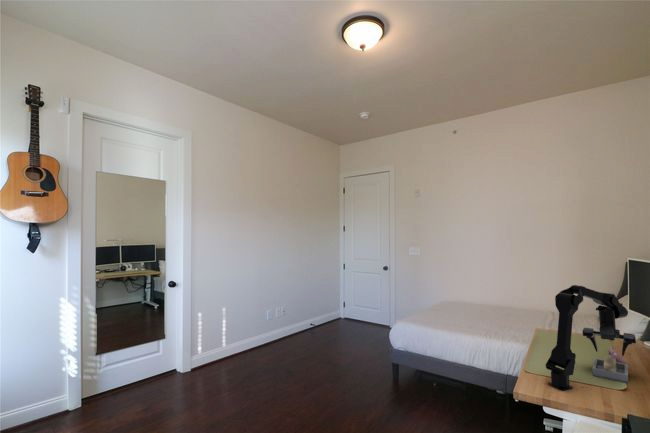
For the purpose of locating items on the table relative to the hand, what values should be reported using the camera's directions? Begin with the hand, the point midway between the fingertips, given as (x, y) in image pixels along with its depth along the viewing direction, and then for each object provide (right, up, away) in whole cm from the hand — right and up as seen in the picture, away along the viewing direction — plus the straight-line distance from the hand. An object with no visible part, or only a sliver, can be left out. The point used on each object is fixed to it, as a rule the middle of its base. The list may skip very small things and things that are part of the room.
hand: (609, 353), depth 155 cm
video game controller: (+14, -10, +12) cm, 21 cm away
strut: (0, -8, -1) cm, 8 cm away
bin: (0, -9, -1) cm, 9 cm away
